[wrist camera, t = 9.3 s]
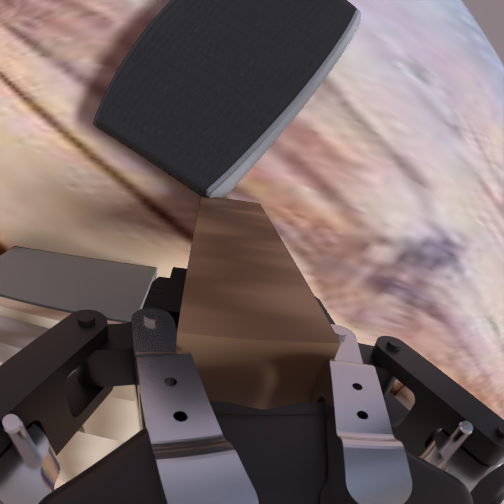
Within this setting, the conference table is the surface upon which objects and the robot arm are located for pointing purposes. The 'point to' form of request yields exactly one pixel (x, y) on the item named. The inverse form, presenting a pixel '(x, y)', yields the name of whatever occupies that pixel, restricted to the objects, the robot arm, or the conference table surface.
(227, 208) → the brown block
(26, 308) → the lid
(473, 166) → the conference table surface
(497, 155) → the conference table surface
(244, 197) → the conference table surface
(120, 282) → the toolbox
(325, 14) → the external hard drive
